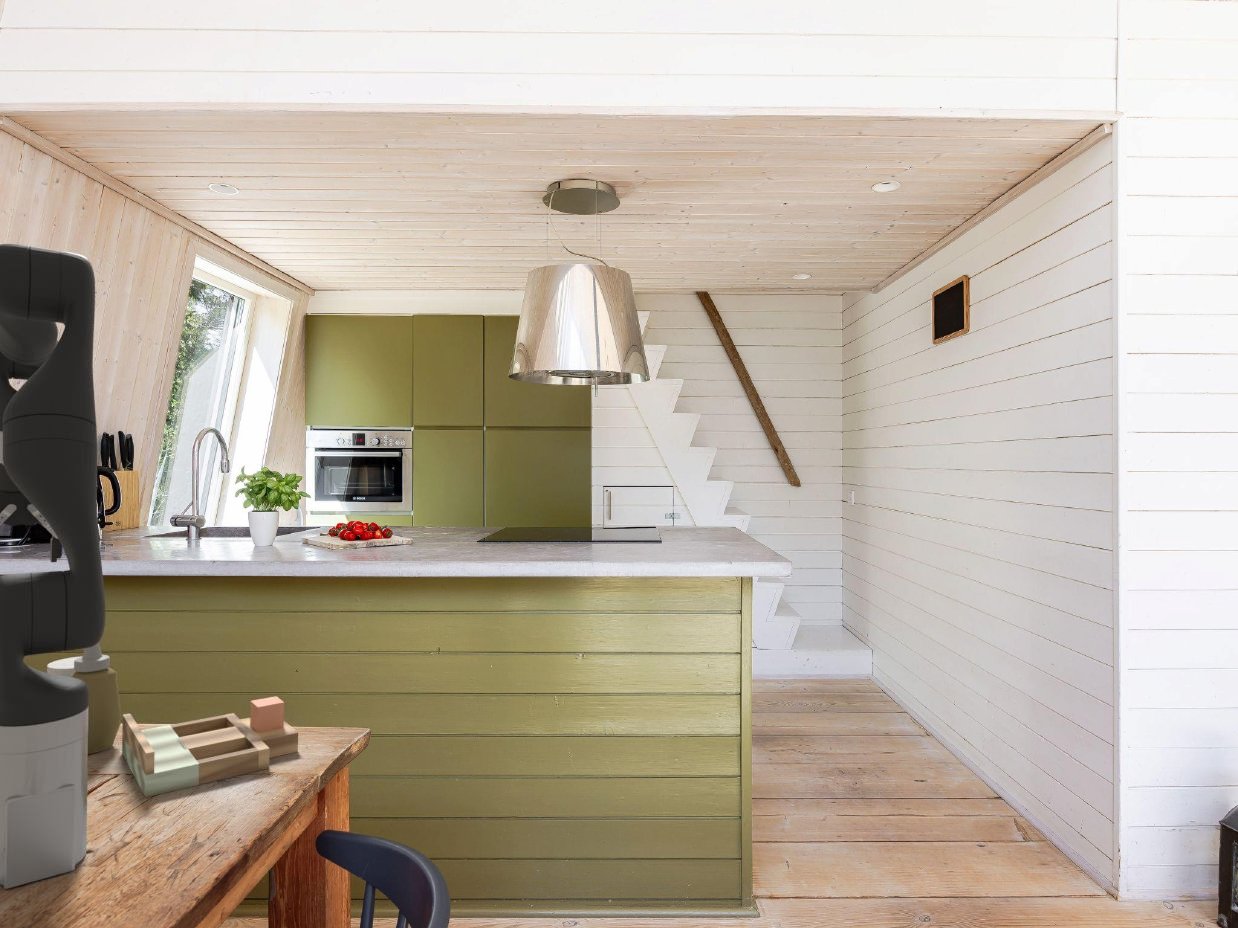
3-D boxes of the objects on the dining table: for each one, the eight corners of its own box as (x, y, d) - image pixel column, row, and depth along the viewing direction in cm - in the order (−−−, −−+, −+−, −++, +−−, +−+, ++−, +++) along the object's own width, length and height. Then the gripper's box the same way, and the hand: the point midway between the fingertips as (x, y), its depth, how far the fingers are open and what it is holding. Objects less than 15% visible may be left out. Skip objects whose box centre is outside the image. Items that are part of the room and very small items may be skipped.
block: (283, 726, 124) (284, 702, 124) (257, 732, 121) (257, 707, 121) (275, 720, 127) (276, 696, 127) (250, 725, 124) (250, 700, 124)
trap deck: (306, 759, 118) (307, 720, 118) (145, 797, 104) (146, 753, 104) (267, 723, 134) (267, 689, 134) (122, 752, 120) (122, 714, 120)
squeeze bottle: (105, 735, 127) (107, 627, 126) (131, 745, 122) (133, 633, 122) (49, 751, 120) (50, 636, 120) (74, 762, 116) (76, 643, 115)
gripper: (-38, 461, 113) (-39, 570, 113) (79, 462, 123) (78, 563, 123) (-38, 460, 119) (-40, 564, 119) (74, 461, 128) (72, 558, 128)
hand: (20, 563), depth 121 cm, fingers open, 8 cm apart
